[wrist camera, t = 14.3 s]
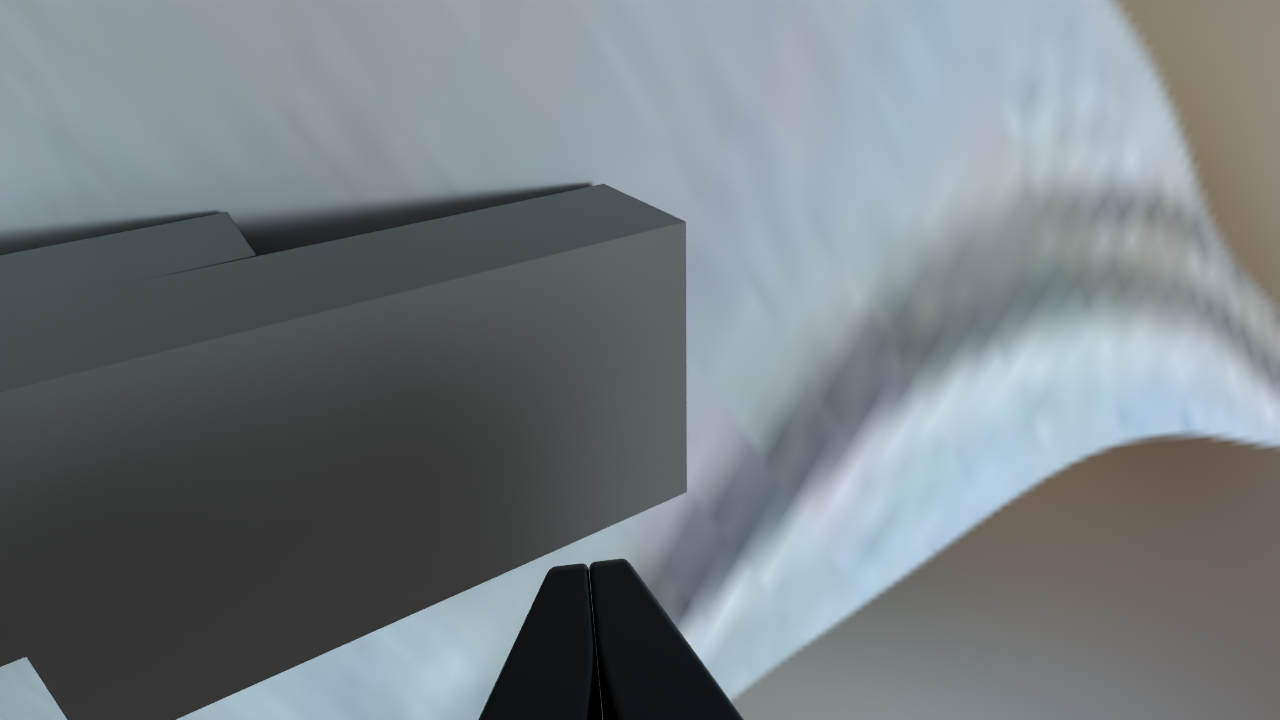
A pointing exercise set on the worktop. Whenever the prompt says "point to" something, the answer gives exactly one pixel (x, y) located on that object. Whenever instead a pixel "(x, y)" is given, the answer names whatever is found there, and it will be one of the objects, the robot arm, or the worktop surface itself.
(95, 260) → the domino
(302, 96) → the worktop surface
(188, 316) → the domino
